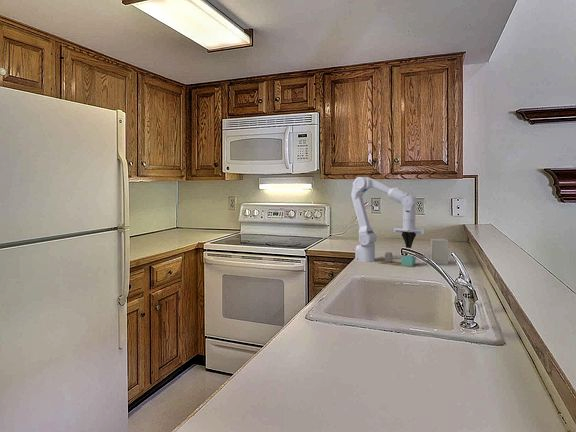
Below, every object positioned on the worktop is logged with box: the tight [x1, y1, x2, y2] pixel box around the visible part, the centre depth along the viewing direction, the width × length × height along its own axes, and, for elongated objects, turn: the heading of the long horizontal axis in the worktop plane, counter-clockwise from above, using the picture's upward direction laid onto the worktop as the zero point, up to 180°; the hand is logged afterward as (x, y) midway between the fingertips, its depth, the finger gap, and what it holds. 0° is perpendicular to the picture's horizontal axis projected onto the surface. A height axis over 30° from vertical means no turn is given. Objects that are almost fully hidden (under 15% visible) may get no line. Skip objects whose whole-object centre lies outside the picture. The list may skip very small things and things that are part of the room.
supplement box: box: [429, 238, 449, 265], centre depth 195 cm, size 7×7×13 cm
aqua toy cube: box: [400, 254, 416, 267], centre depth 191 cm, size 5×5×7 cm
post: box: [384, 251, 393, 263], centre depth 197 cm, size 3×3×5 cm
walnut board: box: [377, 259, 420, 269], centre depth 194 cm, size 18×9×1 cm, turn 55°
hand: (408, 247), depth 191 cm, fingers closed
